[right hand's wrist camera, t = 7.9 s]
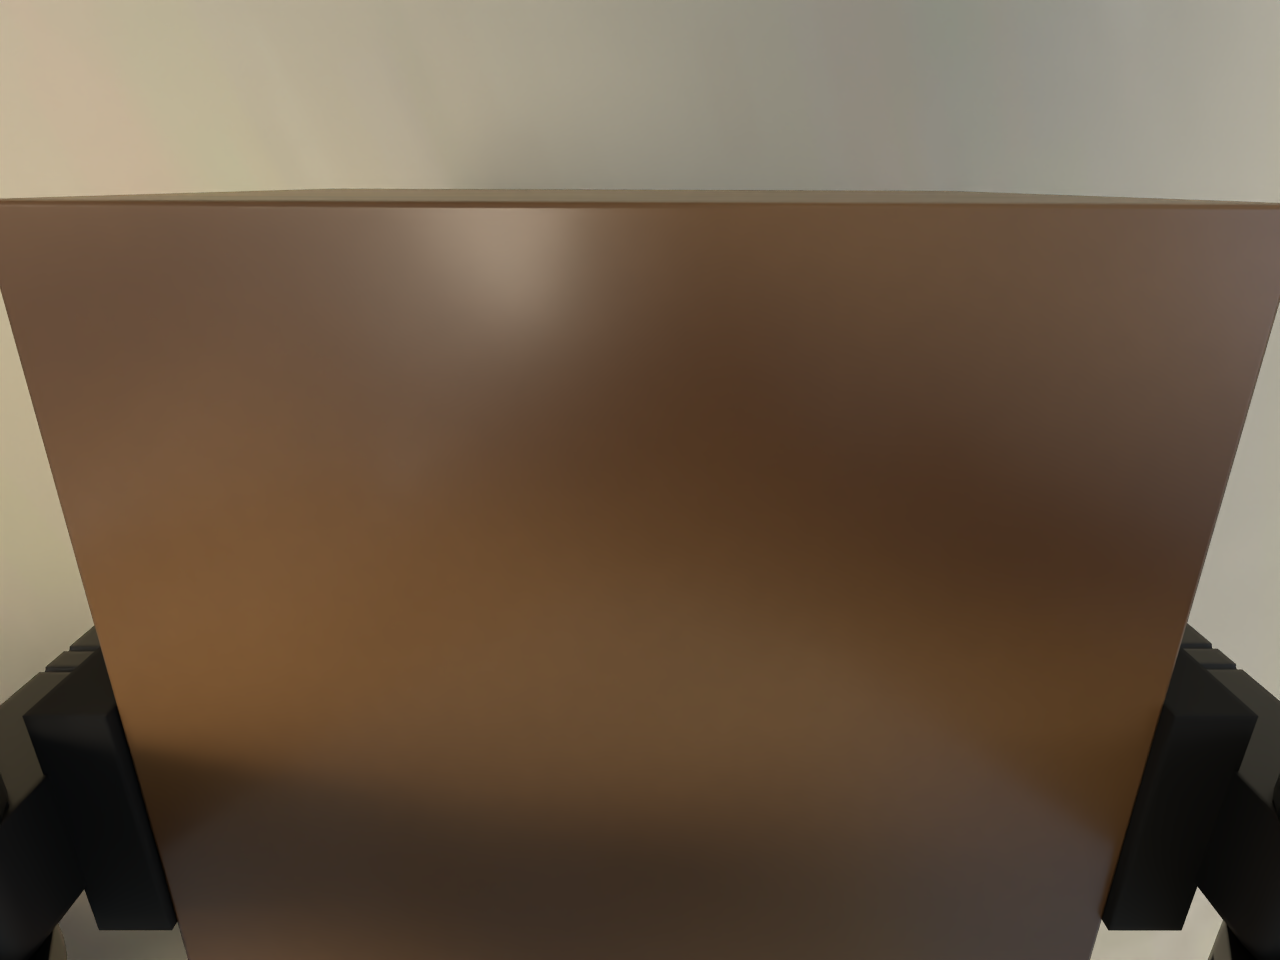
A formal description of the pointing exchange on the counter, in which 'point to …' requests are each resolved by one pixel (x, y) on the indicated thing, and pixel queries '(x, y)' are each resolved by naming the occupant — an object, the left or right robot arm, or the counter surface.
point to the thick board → (639, 552)
